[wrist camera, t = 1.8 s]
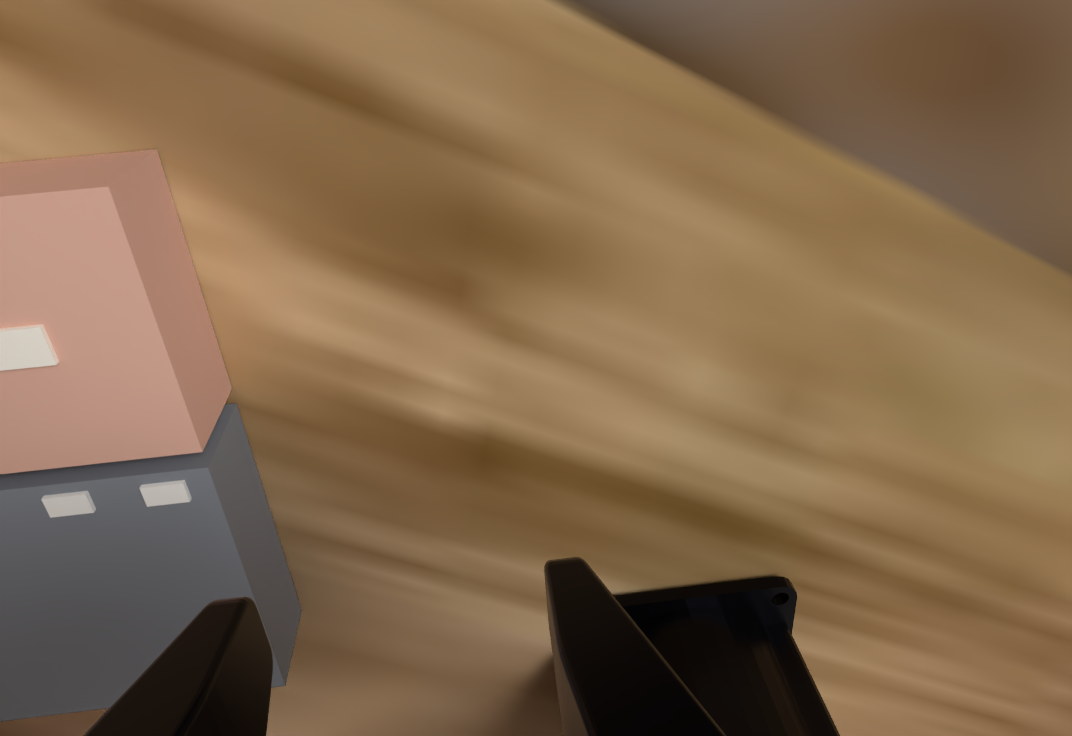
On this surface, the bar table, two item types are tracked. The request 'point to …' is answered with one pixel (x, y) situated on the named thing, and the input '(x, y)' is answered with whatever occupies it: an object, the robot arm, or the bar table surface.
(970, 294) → the bar table surface
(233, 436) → the grey flat block
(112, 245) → the pink block
